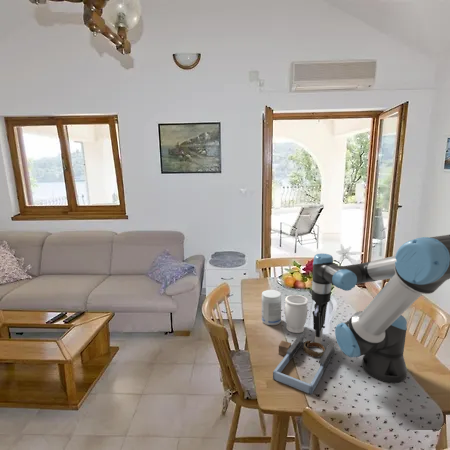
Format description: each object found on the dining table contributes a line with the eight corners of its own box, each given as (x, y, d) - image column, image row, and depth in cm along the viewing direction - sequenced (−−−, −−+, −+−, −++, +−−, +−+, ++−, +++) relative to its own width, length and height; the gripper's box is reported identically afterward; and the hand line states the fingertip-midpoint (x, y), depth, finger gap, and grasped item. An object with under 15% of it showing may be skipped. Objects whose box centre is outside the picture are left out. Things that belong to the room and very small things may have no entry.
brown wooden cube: (290, 351, 132) (291, 343, 131) (287, 356, 129) (288, 348, 128) (281, 349, 134) (281, 340, 133) (278, 354, 131) (278, 345, 130)
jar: (307, 335, 144) (308, 305, 141) (283, 333, 146) (284, 303, 143) (306, 324, 154) (307, 295, 151) (284, 322, 156) (285, 293, 153)
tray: (286, 360, 126) (286, 353, 126) (322, 373, 119) (323, 366, 118) (272, 379, 116) (273, 371, 115) (311, 394, 108) (312, 386, 108)
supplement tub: (283, 319, 158) (284, 292, 155) (276, 328, 150) (277, 299, 147) (265, 314, 163) (266, 288, 160) (258, 322, 155) (258, 294, 152)
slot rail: (300, 341, 140) (301, 332, 139) (334, 351, 132) (334, 342, 131) (286, 360, 127) (286, 351, 126) (322, 373, 119) (323, 363, 118)
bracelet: (299, 347, 136) (300, 340, 135) (318, 344, 138) (318, 338, 137) (309, 359, 128) (309, 352, 127) (328, 356, 129) (329, 350, 129)
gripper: (317, 283, 139) (314, 332, 144) (307, 294, 128) (304, 346, 133) (334, 287, 135) (331, 337, 140) (325, 298, 124) (322, 352, 129)
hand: (318, 342), depth 136 cm, fingers closed
